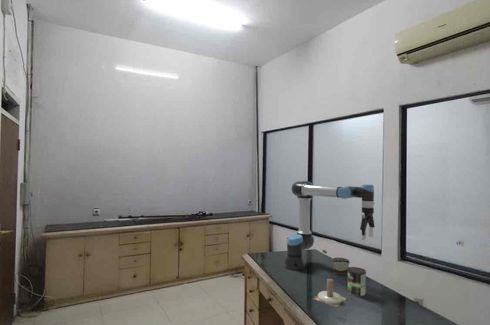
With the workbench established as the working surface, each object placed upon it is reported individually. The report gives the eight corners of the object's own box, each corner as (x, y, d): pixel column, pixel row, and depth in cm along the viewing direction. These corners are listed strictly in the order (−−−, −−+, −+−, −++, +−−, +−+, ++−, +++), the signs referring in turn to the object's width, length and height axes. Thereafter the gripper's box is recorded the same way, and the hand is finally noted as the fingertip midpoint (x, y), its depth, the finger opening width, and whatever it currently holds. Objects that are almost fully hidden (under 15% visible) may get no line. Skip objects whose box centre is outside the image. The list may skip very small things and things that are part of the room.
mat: (312, 299, 160) (312, 298, 160) (324, 292, 170) (324, 291, 170) (336, 308, 150) (336, 306, 150) (346, 299, 161) (346, 298, 161)
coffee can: (352, 297, 164) (352, 273, 164) (344, 290, 174) (344, 266, 174) (369, 297, 164) (369, 272, 165) (360, 289, 175) (360, 266, 175)
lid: (314, 298, 160) (314, 279, 160) (324, 291, 169) (324, 273, 170) (336, 306, 151) (336, 286, 151) (345, 298, 161) (345, 279, 161)
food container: (347, 271, 206) (347, 257, 207) (349, 274, 200) (349, 260, 200) (330, 270, 208) (330, 256, 208) (331, 273, 201) (332, 259, 202)
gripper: (366, 209, 181) (366, 242, 180) (379, 206, 199) (379, 236, 198) (355, 208, 186) (354, 240, 185) (368, 205, 204) (368, 234, 204)
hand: (367, 238), depth 192 cm, fingers open, 13 cm apart
